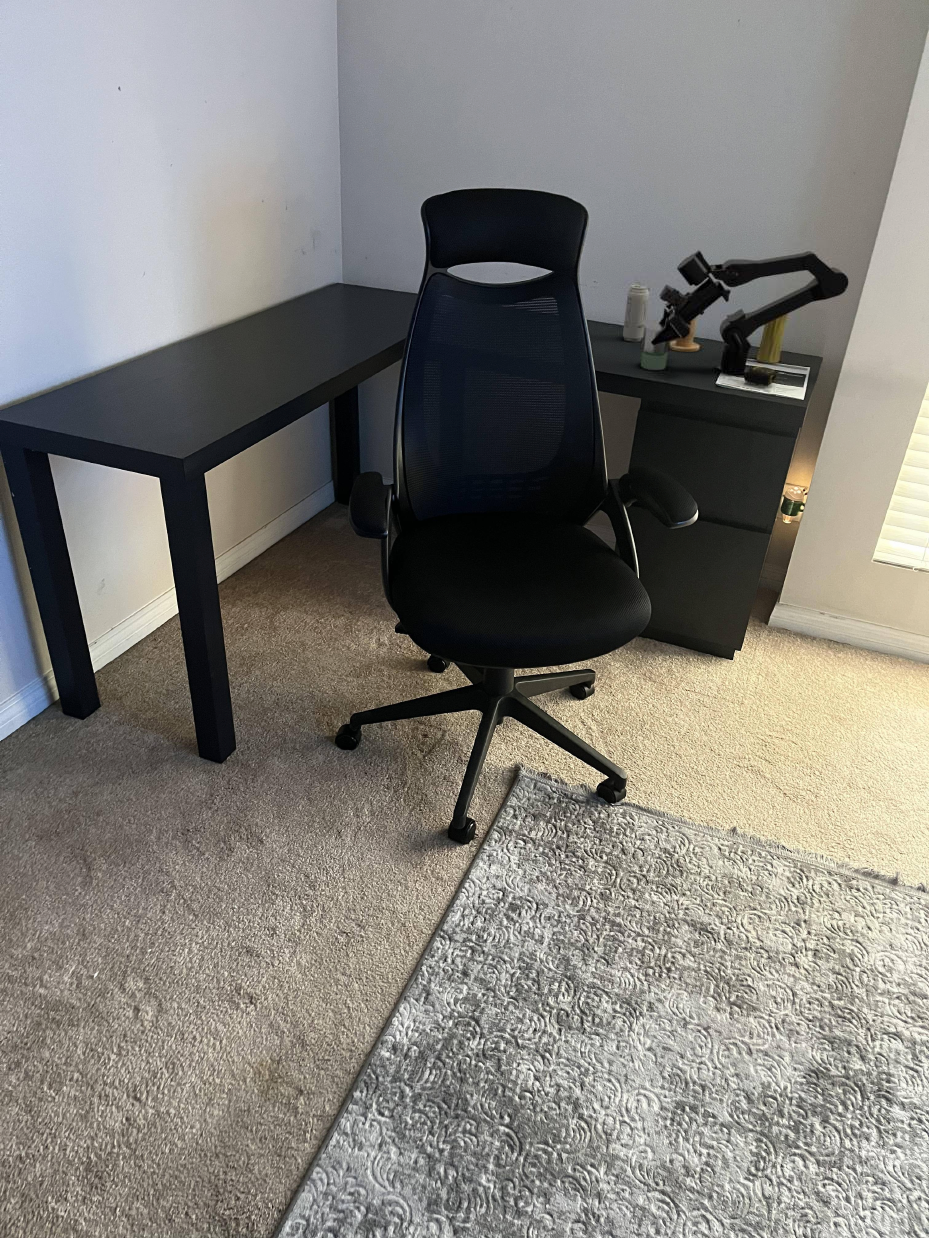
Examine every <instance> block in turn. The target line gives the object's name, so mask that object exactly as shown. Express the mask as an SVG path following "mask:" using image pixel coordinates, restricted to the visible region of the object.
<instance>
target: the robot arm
mask: <svg viewBox="0 0 929 1238" xmlns="http://www.w3.org/2000/svg"><path fill="white" fill-rule="evenodd" d="M708 262H709V261H707V260H706V259H705V256H704V254H703V253H702V252H701V250H697V251H696V252H694V253H692V254H690V255H689V256H687V257H685V258H684V259H683V260H682V261H681V262H680V263H679V264H678V265H677V267H676V270H677V271H678V272H679V274H680V275H681V277H682V278H683V279H684V280H685V282H686V283H687V284H688V286H690V287H692V286H694V287H696V288H695V289H694V290H692V291H687V292H686V293H682V292H680V290H678V289H676V288H675V287H672V286H671V285H669V284H665V285H664V287H663V288H662V290H661V292H660V293H659V299H660V300H661V301H663V302H666V303H665V304H664V305H665V306H664V308H663V314H662V317H661V319H660V321H659V322H658V323H657V324H665V327H664V328H663V329H662V330H661V331H660V332H659V333H658V334H657V335H656V337H655V338H654V339H653V340H652V341H651V343H652V345H656V344H659V343H663V342H666V341H670V340H671V341H675V340H676V339H677V338H681V337H682V338H683V339H684V338H685V337H686V336H688V335H689V334H690V327H689V325H690V324H691V321H692V320H693V319H695V318H696V317H697V318H698V317H699V316H703V315H704V314H705V311H706V310H707V309H708V308H709V307H710V306H712V305H713V304H715V303H716V302H717V301H718V300H719V299H720V298H721V297H722V298H723V300H724V301H725V302H726V303H728V302H730V301H729V300H730V294H731V289H730V288H736V287H740V286H743V285H745V284H749V283H750V282H752V281H754V280H757V279H760V278H766V277H773V276H779V275H785V274H791V273H797V272H804V271H807V272H809V273H810V274H811V275H812V276H813V277H814V278H812V279H811V280H810V281H809V282H808V283H807V284H806V285H805V286H803V287H800V288H798V289H796V290H794V291H792V292H790V293H788V294H786V295H784V296H781V297H780V298H778V299H775V300H774V301H772V302H770V303H768V304H765V305H764V306H762V307H759V308H757V309H756V310H753V311H750V312H744V310H743V308H740V309H738V310H737V311H735V312H734V313H732V314H727V315H726V318H725V319H723V320H722V321H721V323H720V326H719V334H720V337H721V338H722V339H721V340H722V341H723V342H724V343H725V345H724V348H723V351H722V356H721V361H720V366H715V369H716V370H717V371H719V372H721V373H723V374H724V375H725V374H726V375H728V376H737V375H745V373H746V372H747V371H748V370H747V369H746V366H747V365H746V364H747V360H748V356H749V351H750V350H751V348H752V344H751V342H750V340H749V337H751V335H752V334H753V333H754V332H755V331H757V330H758V329H759V328H761V327H764V326H765V324H767V323H769V322H771V321H773V320H775V319H778V318H780V317H782V316H784V315H786V314H788V315H789V314H790V313H792V312H794V311H796V310H799V309H801V308H803V307H804V306H807V305H809V304H811V303H814V302H819V301H825V300H829V299H832V298H835V297H839V296H841V295H843V294H844V293H845V292H846V290H847V289H848V287H849V277H848V276H847V275H846V273H844V272H843V271H842V270H841V269H839V268H837V267H830V266H829V265H827V264H826V263H825V262H824V261H823V260H822V259H820V258H819V256H818V255H817V254H816V253H815V252H813V251H811V250H807V251H805V252H801V253H795V254H790V255H789V254H788V255H782V256H777V257H770V258H765V259H758V260H757V259H755V260H754V259H753V260H752V259H745V258H744V259H743V258H735V259H734V258H732V259H727V260H725V261H724V262H723V263H718V264H710V263H708ZM710 274H711V275H710ZM711 276H712V277H711ZM713 278H714V279H715V280H716V281H714V279H713ZM721 282H722V283H723V284H724V285H725V286H726V287H728V288H725V287H724V285H723V284H722V283H721ZM671 341H670V342H671Z"/></svg>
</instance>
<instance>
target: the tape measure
mask: <svg viewBox="0 0 929 1238" xmlns="http://www.w3.org/2000/svg"><path fill="white" fill-rule="evenodd" d="M743 375H744V376H743V379H744V381H745V382H746V383H750V384H752V385H754V386H763V387H769V386H770V385H772V384H773V383H774V381H775V380H776V378H777V374H776V373H775V370H774V369H773V368H770V367H766V366H751V367H749V369H748V370H747V372H746V373H745V374H743Z"/></svg>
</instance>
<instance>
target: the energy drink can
mask: <svg viewBox="0 0 929 1238" xmlns="http://www.w3.org/2000/svg"><path fill="white" fill-rule="evenodd" d="M648 288H649V287H648V286H647V285H645V284H644V285H643V284H632V285H630V288H629V290H628V291H627V296H626V306H625V314H624V323H623V331H622V336H623V339H624V340H625V341H627V342H640V341H642V339H643V332H644V326H645V325H646V320H647V319H646V318H647V310H648V303H649V296H650V291H649V290H648Z"/></svg>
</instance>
